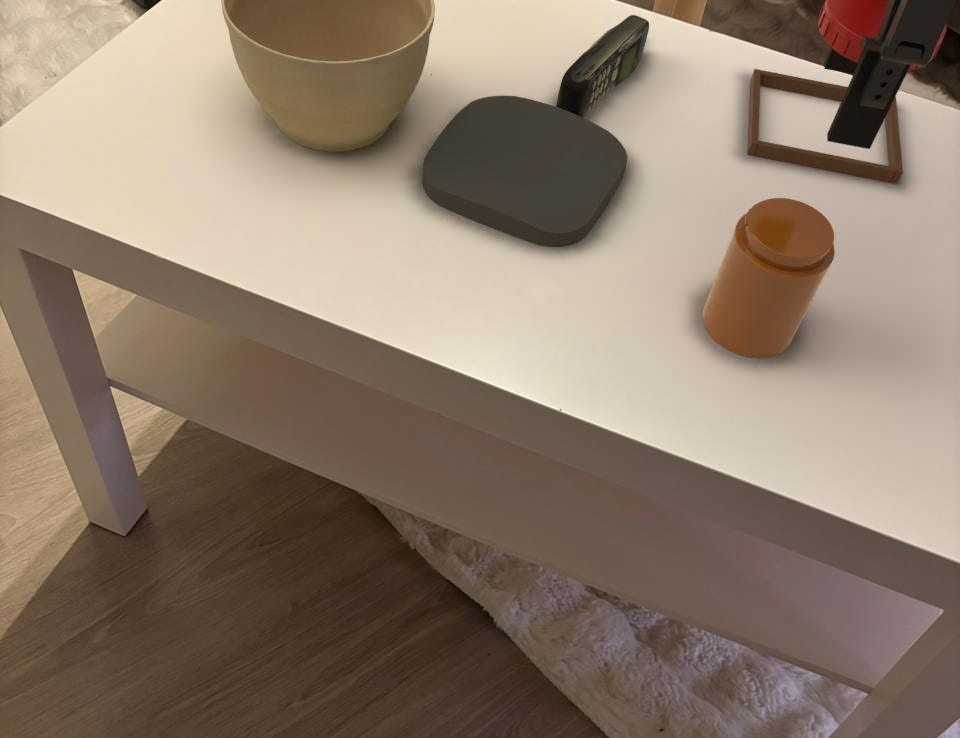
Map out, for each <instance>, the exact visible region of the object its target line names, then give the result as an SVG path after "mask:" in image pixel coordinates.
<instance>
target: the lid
mask: <svg viewBox="0 0 960 738" xmlns="http://www.w3.org/2000/svg"><path fill="white" fill-rule="evenodd" d="M888 2H889V0H825V1H824V4H823V5H822V6H821V10H820V12H819V13H818V14H819V15H818V18H817V21H818V26H817V29H818V30H819V33H820V35H821V37H822V38H823V40H824V41H825V42H826V43H827V44H828V46H830V47H832V48H833V49H834V50H835V51H837V52H838V53H840V54H841V55H843V56H844V57H846V58H848V59H850V60H852V61H854V62H856V63H859V61H860V58H861V56H862V54H863V51H864V50H862V49H861V42H862V38H863V36H865V37H870V38H875V37H876V35H877V34H878V31H879V28H880V25H881V22H882V19H883V16H884V14H885V11H886V8H887V5H888ZM946 33H947V24H946V25H945V27H944V29H943V31H942V33H941V36H940V38H939V40H938V42H937V45H936V47H935V49H934V51H933V53H932V57H931V59H930V60H929V62H928V64H927V65H928V66H929V63H930V62H931V61H932V60H933V59H935V58H936V56H937V54H938V52H939V50H940V48H941V46H942V44H943V43H942V42H943V39H944V38H945V35H946ZM927 65H926V66H927ZM919 68H921V67H920V66H915V65H911V66H910V68H909V70H908V71H913V70H918V69H919Z"/></svg>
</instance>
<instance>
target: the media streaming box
mask: <svg viewBox="0 0 960 738" xmlns="http://www.w3.org/2000/svg"><path fill="white" fill-rule="evenodd" d="M627 162H628V153H627V151H626V148H625V147H624V146H623V144H622V143H621V141H620V140H619V139H618V138H617V137H616V136H615V135H614V134H613V133H611V132H610V131H609V130H607V129H606V128H604V127H602V126H600V125H598V124H597V123H594V122H593V121H590V120H589V119H587V118H585V117H584V118H582V117H580V116H578V115H576V114H573V113H571V112H568V111H566V110H563V109H560V108H558V107H556V106H555V105H552V104H548V103H546V102H542V101H538V100H534V99H531V98H526V97H522V96H516V95H492V96H485V97H481V98H478V99H477V98H476V99H475V100H473V101H470V102H469V103H468V104H467V105H466V106H464V107H463V108H462V109H461V110H460V111H459V112H458V113H457V114H456V115H455V116H454V117H453V118H452V119H451V120H450V121H449V122H448V123H447V124H446V126H444V128H443V129H442V131H441V132H440V133H439V135H438V136H437V138H436V139H435V141H434V142H433V144H432V145H431V147H430V148H429V150H428V152H427V154H426V155H425V157H424V159H423V164H422V181H421V182H422V187H423V190H424V192H425V193H426V195H427V196H428V198H429V199H430V200H431V201H432V202H434V203H435V204H436V205H438V206H439V207H441V208H443V209H445V210H448V211H450V212H452V213H455V214H457V215H459V216H461V217H463V218H467V219H469V220H470V221H474V222H476V223H477V224H481V225H483V226H485V227H488V228H490V229H493V230H496V231H498V232H500V233H503V234H506V235H508V236H511V237H514V238H516V239H520V240H522V241H525V242H528V243H531V244H533V245H537V246H540V247H547V248H559V247H566V246H571V245H574V244H576V243H578V242H580V241H581V240H583V239H584V238H586V237H587V235H588V234H589V233H590V231H591V230H592V229H593V227H594V226H595V225H596V223H597V221H598V220H599V219H600V217H601V216H602V214H603V213H604V212H605V210H606V208H607V206H608V205H609V203H610V201H611V200H612V198H613V196H614V195H615V193H616V191H617V190H618V187H619V185H620V184H621V181H622V179H623V178H624V175H625V170H626V167H627Z"/></svg>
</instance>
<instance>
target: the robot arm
mask: <svg viewBox="0 0 960 738" xmlns="http://www.w3.org/2000/svg"><path fill="white" fill-rule="evenodd" d="M956 3H957V0H889V2H888V5H887V8H886V11H885V14H884V16H883V19H882V22H881V25H880V28H879V31H878V34H877V35H876V37H875V38H870V37H865V36H863V38H862V42H861V49H862V50H864V51H863V54H862V56H861V58H860V61H859V63H856V62H854V61H852V60H850V59H848V58H846V57H844V56H843V55H841V54H840V53H838V52H837V51H835V50H834V49H833V48H832V47H831V46H830V47H829V48H828V49H829V50H828V51H827V55H826V57H825V59H824V62H823V67H824V68H823V69H824V70H829V71H834V72H839V73H845V74H850V75H852V77H851V79H850V81H849V83H848V86H847V87H848V88H847V90H846V92H845V95H844V97H843V99H842V101H841V102H840V103H839V106H838V109H837V110H836V113H835V115H834V117H833V120H832V122H831V124H830V126H829V128H828V131H827V133H826V139H827V142H829V143H835V144H840V145H845V146H851V147H856V148H861V149H867V150H871V148H872V146H873V144H874V141H875V139H876V137H877V135H878V133H879V131H880V130H881V128H882V125H883V122H885V117H886V115H887V113H888V111H889V109H890V107H891V105H892V103H893V100H894V98H895V96H896V97H897V94H898V92H899V90H900V88H901V86H902V85H903V82H904V80H905V78H906V77H907V74H908V72H909V71H910V70H909V68H910V66H911V65H915V66H920V68H925V67H927V64H928V65H929V63H930V62H929V60H930V59H931V57H932V53H933V51H934V49H935V47H936V45H937V42H938V40H939V38H940V36H941V33H942V31H943V29H944V27H945V25H946V26H947V22H948V20H949V18H950V17H951V13H952V11H953V9H954V7H955V5H956ZM928 62H929V63H928Z"/></svg>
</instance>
